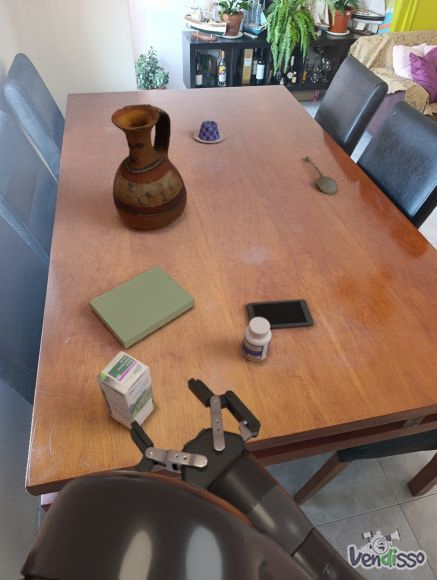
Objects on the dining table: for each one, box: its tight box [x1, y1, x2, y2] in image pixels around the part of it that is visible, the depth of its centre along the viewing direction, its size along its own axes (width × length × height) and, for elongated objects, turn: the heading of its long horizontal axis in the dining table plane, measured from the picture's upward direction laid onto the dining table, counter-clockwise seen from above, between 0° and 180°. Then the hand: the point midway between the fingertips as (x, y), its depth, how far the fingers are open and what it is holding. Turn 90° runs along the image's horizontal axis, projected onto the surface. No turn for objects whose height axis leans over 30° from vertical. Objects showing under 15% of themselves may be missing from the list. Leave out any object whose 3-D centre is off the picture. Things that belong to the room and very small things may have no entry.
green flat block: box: [88, 264, 196, 349], centre depth 82 cm, size 18×14×3 cm
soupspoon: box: [305, 155, 339, 195], centre depth 125 cm, size 22×3×7 cm
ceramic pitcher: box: [110, 103, 188, 230], centre depth 97 cm, size 20×20×30 cm
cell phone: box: [246, 298, 314, 330], centre depth 83 cm, size 7×14×1 cm, turn 97°
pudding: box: [193, 120, 226, 144], centre depth 140 cm, size 12×12×5 cm
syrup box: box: [96, 350, 156, 430], centre depth 62 cm, size 6×6×14 cm
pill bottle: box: [242, 317, 272, 362], centre depth 74 cm, size 5×5×9 cm
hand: (162, 402), depth 46 cm, fingers open, 8 cm apart
